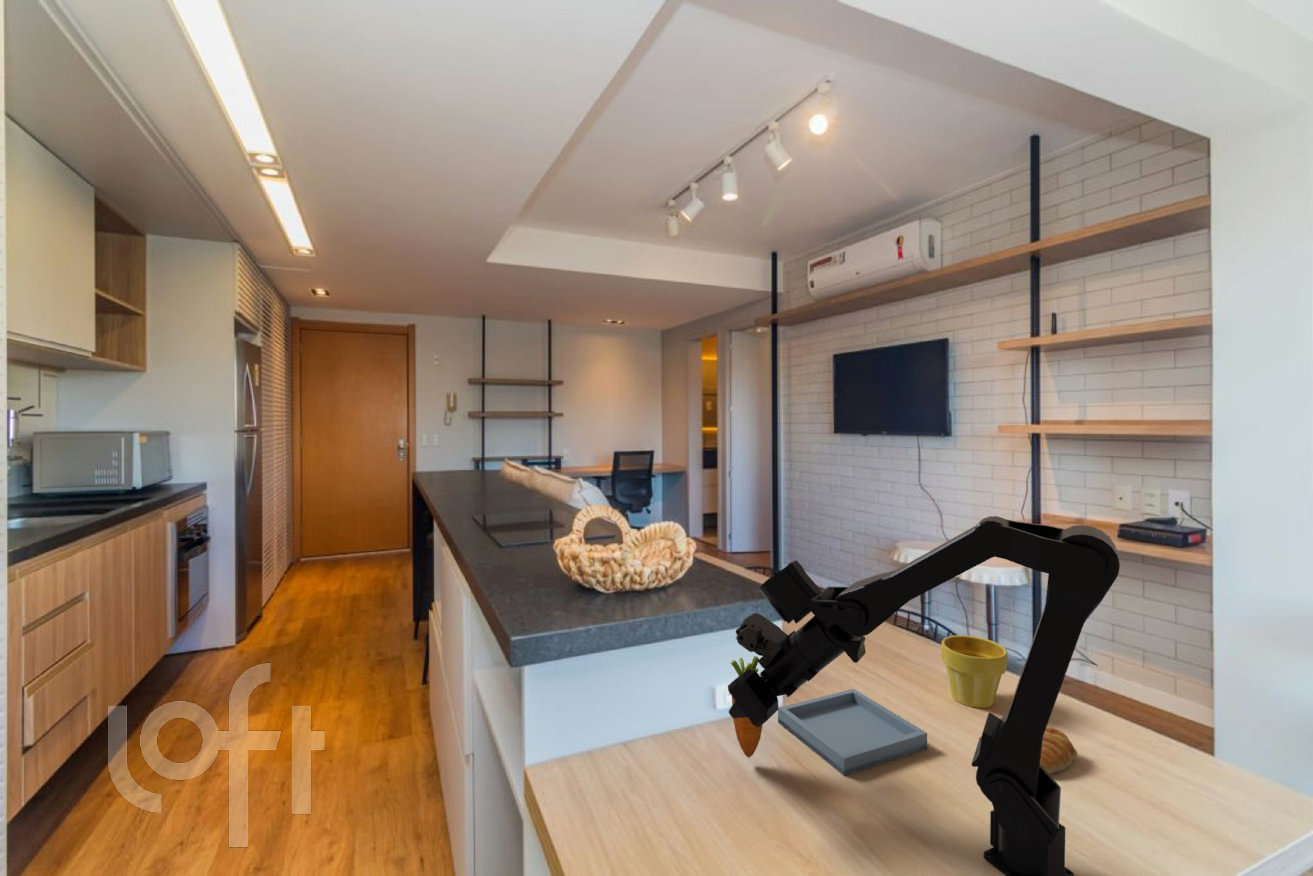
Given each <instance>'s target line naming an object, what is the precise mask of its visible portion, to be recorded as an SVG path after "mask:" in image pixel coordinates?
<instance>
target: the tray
mask: <svg viewBox="0 0 1313 876" xmlns="http://www.w3.org/2000/svg"><path fill="white" fill-rule="evenodd" d="M777 723H778V724H780V726H782V727H783V728H784V729H786V730H787V731H788V732H789V733H791V734H792V735H793V736H794V737H796V738H797V739H798V740H799V741H801V742H802V743H803V744H804V745H806V746H807V747H808V748H809V749H811V751H813V752H814V753H815V754H817V755H818V756H819V757H820V758H822V760H824V761H825V762H827V764H829V765H830V766H831V767H832V768H833V769H835V770H837V771H838V772H839V773H840V774H841V775H842V776H844V777H845V776H847V775H850V774H854V773H858V772H860V771H863V770H866V769H870V768H872V767H876V766H878V765H879V766H880V765H881V764H884V763H888V762H891V761H893V760H894V761H895V760H897V759H900V758H904V757H906V756H910V755H912V754H916V753H919V752H922V751H926V750H928V733H927V731H924V730H923V729H921V728H920V727H918V726H916V725H915V724H913V723H911V722H910V721H908V720H906V719H904V718H903V717H901V716H900V715H897V714H896V713H894V712H893V711H892V710H889V709H888V708H886V707H884V706H883V705H881V704H880V703H878V702H876V701H875V700H873V699H871V698H869V697H868V696H866V695H864V694H863V693H861V692H859V691H858V690H856V689H855V688H852V689H851V688H850V689H847V690H843V691H839V692H836V693H832V694H828V695H823V696H819V697H816V698H815V697H814V698H812V699H808V700H803V701H799V702H795V703H791V704H788V705H784V706H778V710H777Z"/></svg>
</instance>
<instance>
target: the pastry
mask: <svg viewBox="0 0 1313 876" xmlns="http://www.w3.org/2000/svg"><path fill="white" fill-rule="evenodd" d="M1077 756H1078V751H1077V749H1076V748H1075V746H1074V745H1073V743H1072V741H1070V739H1069V736H1068V735H1066V734H1065V733H1064V732H1063V731H1061V730H1059V729H1057V728H1054V727H1052V726H1047V727H1046V730H1045V732H1044V735H1043V741H1042V750H1041V758H1040V765H1041V766H1042V767H1043V768H1044V770H1045V771H1046V772H1047V773H1048V774H1049V775H1050V776H1051V775H1052V774H1055V773H1059V772H1065V771H1066V770H1067V768H1069V766H1071V765H1072V763H1073V762H1074V760H1075V759H1076V757H1077Z"/></svg>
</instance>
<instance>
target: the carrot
mask: <svg viewBox="0 0 1313 876" xmlns="http://www.w3.org/2000/svg"><path fill="white" fill-rule="evenodd" d="M759 659H760V658H759V657H758V656H756V655H753V659H752V660H751V663H750V662H747V664H746V666H745V662H744V659H743V657H739V659H738V661H739V663H738V662H737V661H736V660H735V659H732V660H731V661H730V664H731V666H732V667H733V669H734V670H735V672H736V673H737V676H738V677H739V676H740V675H741V674H742V673H744V672H745V671H746V670H748V669H749V670H753V671H756V672H757V673H758V671H759V668H757V666H758V664H759V662H758V660H759ZM734 702H735V699H734V698H733V697H732V696H731V706H732V705H733V703H734ZM732 721H733V725H734V730H735V735H736V738H737V741H738V744H739V747H740V749H741V750H742V752H743V754H744V756H746V757H747V758H748V759H749V758H751V757H752V756H753V755H754V754H755V752H756V750H757V748H758V745H759V743H760V740H761V737H762V731H763V724H764V723H763V724H762V725H761V726H760V727H756V726H754V725H753V724H752V723H751V721H750V720H749V718H748V717H744V718H732Z"/></svg>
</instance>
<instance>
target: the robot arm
mask: <svg viewBox="0 0 1313 876" xmlns="http://www.w3.org/2000/svg"><path fill="white" fill-rule="evenodd" d="M992 558H999V559H1003V560H1007V561H1010V562H1012V563H1015V564H1017V565H1020V566H1023V567H1025V568H1028V569H1031V570H1033V571H1037V572H1041V573H1045V574H1048V577H1047V583H1046V584H1047V585H1046V596H1045V605H1044V608H1043V610H1042V613H1041V615H1040V619H1039V622H1038V624H1037V627H1036V629H1035V630H1036V631H1035V634H1034V636H1033V639H1032V642H1031V645H1030V647H1029V651H1028V653H1027V657H1026V659H1025V662H1024V665H1023V667H1022V671H1021V673H1020V676H1019V679H1018V683H1017V685H1016V688H1015V691H1014V693H1013V697H1012V699H1011V702H1010V705H1009V707H1008V709H1007V710H1006V712H1005V713H1004V714H1003V716H1001V718H1000V717H998V716H996V715H995V714H993V713H992V712H988V714H987V717H986V720H985V724H984V726H983V730H982V732H981V736H980V737H979V738H978V742H977V745H976V748H975V751H974V755H973V758H972V761H971V765H970V766H972V767H976V768H977V770H976V772H975V773H976V774H975V781H976V785H977V786H978V787H979V789H980V791H981V792H982V794H983V795H984V797H985V798H986V799H987V800H988V801H989V802H991V805H992V808H993V810H991V811H990V813H989V815H990V818H989V819H990V822H989V829H990V830H989V845H990V846H992V847H991V848H989V849H986V850H985V851H983V858H984V859H985V860H986V861H987V862H989V863H990V864H991V865H993V866H994V867H995V868H997V869H998V870H999V871H1001V872H1002V873H1003V874H1005V875H1006V876H1075V873H1074V872H1073V871H1072V870H1071V869H1069V868H1068V867H1066V866H1065V865H1066V826H1064V825H1063V824H1061V823H1060V812H1061V811H1060V809H1061V794H1062V793H1061V792H1062V788H1061V786H1060V784H1058V782H1057V781H1056V780H1055V779H1054V778H1053V777H1052V776H1051V775H1049V774H1048V773H1047V772H1046V771H1045V770H1044V768H1043V767H1042V766H1041V765H1040V758H1041V750H1042V741H1043V735H1044V732H1045V730H1046V727H1048V723H1049V720H1050V718H1051V715H1052V713H1053V710H1054V707H1055V704H1056V701H1057V700H1058V699H1057V698H1058V696H1059V693H1060V690H1061V688H1062V685H1063V683H1064V680H1065V677H1066V674H1067V671H1068V668H1069V666H1070V662H1071V661H1072V658H1073V655H1074V652H1075V649H1076V648H1077V647H1076V646H1077V644H1078V641H1079V638H1080V635H1081V633H1082V630H1083V627H1084V625H1085V623H1086V622H1087V620H1088V619H1089V617H1090V616H1091V615H1092V614H1093V612H1094V611H1095V610H1096V609H1097V608H1098V606H1099V605H1100V604H1101V603H1102V601H1103V600H1104V598H1105V597H1106V595H1107V594H1108V592H1109V590H1110V589H1111V587H1112V586H1113V584H1114V583H1115V582H1116V580H1117V578H1118V576H1119V573H1120V567H1121V566H1120V565H1121V563H1120V559H1119V555H1118V551H1117V546H1116V544H1115V543H1114V541H1113V539H1112V538H1111V536H1109V535H1108V534H1107V533H1105V532H1104V531H1103V530H1101V529H1099V528H1096V527H1094V526H1092V525H1086V524H1079V525H1072V526H1070V527H1067V528H1061V527H1057V526H1051V525H1047V524H1039V523H1034V522H1033V523H1031V522H1025V521H1017V520H1016V521H1015V520H1011V519H1008V518H1007V519H1006V518H1004V517H1000V516H997V515H992V516H991V515H990V516H987V517H984V518H983V519H981V520H980V521H979V522H977V524H976V525H974V526H973V527H970V528H968V529H966V531H964V532H962V533H960V534H958V535H956V536H954V537H953V538H951V539H950V540H949V539H948V540H947V541H946V542H944V543H942V544H940V545H938V546H937V547H935V548H933V549H931V550H929V551H928V552H926V553H924V554H922V555H920V556H919V557H917V558H915V559H913V560H912V561H910V562H907V564H905V565H903V566H900V567H899V568H897V569H895V570H894V569H893V570H892V571H888V572H883V573H879V574H875V575H872V576H869V577H866V578H863V579H861V580H857V581H855V582H853V583H852V584H851V585H849V586H827V587H825V588H824V589H821V588H819V586H818V585H817V584H816V583H815V582H814V579H813V580H812V578H811V577H810V576H809V575H808V573H807V572H806V571H805V569H804V567H803V566H802V564H801V563H800V562H799V561H798V560H797V559H796V560H793V561H791V562H790V563H789V562H788V563H787V565H786V566H785V567H784V568H782V569H781V570H779V571H778V572H777V573H776V574H774V575H772V576H770V577H769V578H767V580H765V581H763V583H762V584H761V585H760V586H759V588H758V591H759V592H760V593H761V595H762V596H763V597H764V598H765V600H767V602H768V603H769V604H770V606H771V607H772V608H773V609H774V611H775V612H776V613H777V614H778V615H779V616H780V618H781V619H782V620H783V621H784V623H787V624H790V623H792V622H794V624H796V625H797V624H798V623H800V622H801V621H802V620H804V619H805V618H806V617H807V616H808V615H810V613H812V615H814V616H813V617H812V618H811V617H810V619H809V620H808V621H807V622H805V624H803V625H802V626H801V627H799V628H798V630H796V631H795V630H793V631H792V632H790V633H789V634H787V633H786V632H784V631H783V630H782V629H781V628H780V627H779V626H778V625H776V624H775V623H774V622H772V621H771V620H769V619H768V618H766V617H765V616H764V615H762V614H760V613H757V612H754V613H752V614H751V615H749V616H747V617H746V618H744V619H743V621H742V623H741V624H740V626H739V627H738V628H736V630H735V634H736V637H735V640H736V641H737V643H738V644H739V645H740V646H741V647H742V648H744V649H745V650H746V651H748V652H750V653H755V654H757V655H758V656H760V658H759V660H758V664H759V665H760V667H762V668H763V670H762V671H760V672H759V673H758V672H756V671H753V670H749V669H748V670H746V671H745V672H744V673H742V674H741V675H740V676H739V675H738V677H736V678H735V679H734V680H733V681H732V682H730V683H729V684H728V685H727V691H728V692H729V694H730V695H731V698H732V697H733V698H734V699H735V702H734V703H733V705H732V704H731V706H730V708H729V710H728V713H729V715H730V717H731V718H732V719H733V718H744V717H748V718H749V720H750V721H751V723H752V724H753V725H754V726H756V727H760V726H761V725H762V724H765V723H766V722H768V721H769V720H770V719H771V717H773V716H774V714H776V713H777V712H778V708H779V698H778V697H780V696H785V695H786V697H787V698H789V697H791V696H792V695H793V694H794V693H795V692H796V691H797V690H798V689H799V688H801V686H803V685H804V684H805V683H807V682H810V681H811V680H812V679H814V678H815V676H816V675H817V674H818V673H820V671H823V669H825V667H827V666H828V665H829V664H831V663H832V662H833V661H834V660H836V659H837V658H838V657H840V656H841V655H842V654H843V653H845V654H846V655H847V657H849V659H850V660H851V661H852V662H853V663H855V664H857V663H859V661H860V660H861V659H862V658H863V657H864V655H866V646H865V641H866V636H868V635H869V634H871V633H872V632H873V631H875V630H876V629H877V628H878V627H880V625H882V624H883V623H884V622H886V621H887V620H888V619H889V618H890V617H892V616H893V615H894V614H895V613H896V612H898V610H900V609H902V608H903V606H905V605H906V604H907V603H908V602H910V601H911V600H913V599H915V598H917V597H919V596H921V595H923V594H925V593H927V592H928V591H930V590H933V589H934V588H937V587H938V586H940V585H942V584H945V583H947V582H948V581H950V580H952V579H953V578H955V577H957V576H959V575H962V574H963V573H966V572H967V571H970V570H971V569H973V568H975V567H977V566H980V564H982V563H984V562H987V561H988V560H990V559H992Z"/></svg>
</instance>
